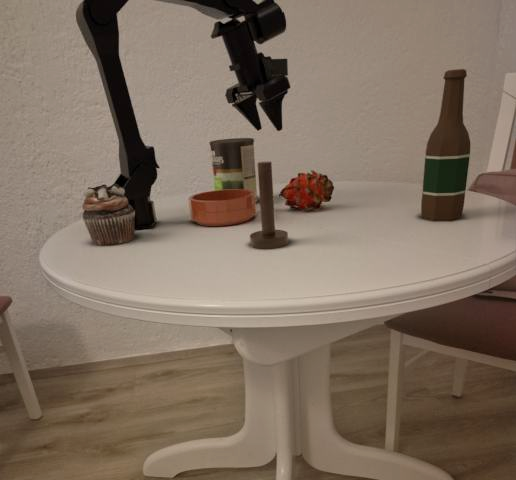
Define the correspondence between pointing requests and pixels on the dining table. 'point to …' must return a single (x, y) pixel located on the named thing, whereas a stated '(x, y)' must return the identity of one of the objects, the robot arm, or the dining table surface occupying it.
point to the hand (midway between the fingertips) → (269, 130)
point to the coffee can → (234, 164)
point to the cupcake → (108, 215)
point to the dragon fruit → (307, 191)
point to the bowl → (222, 207)
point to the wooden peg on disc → (267, 213)
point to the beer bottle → (447, 155)
